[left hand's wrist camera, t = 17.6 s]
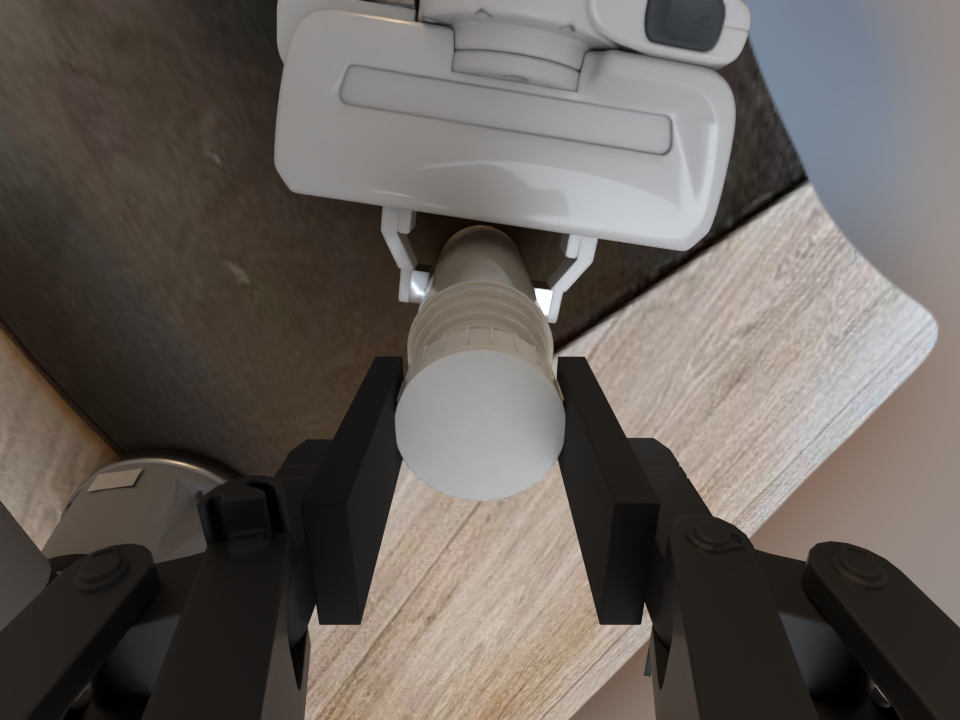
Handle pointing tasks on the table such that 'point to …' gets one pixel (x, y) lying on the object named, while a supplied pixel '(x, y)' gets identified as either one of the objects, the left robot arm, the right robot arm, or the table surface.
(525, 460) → the cap
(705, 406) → the table surface
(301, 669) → the left robot arm
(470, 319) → the bottle
